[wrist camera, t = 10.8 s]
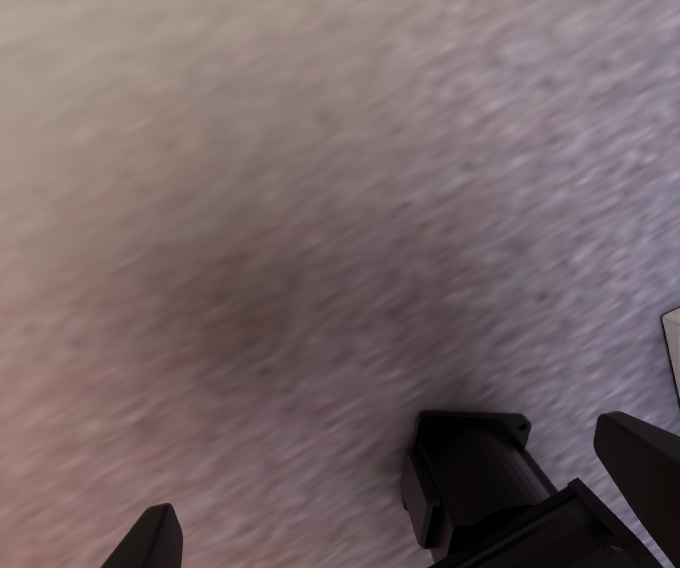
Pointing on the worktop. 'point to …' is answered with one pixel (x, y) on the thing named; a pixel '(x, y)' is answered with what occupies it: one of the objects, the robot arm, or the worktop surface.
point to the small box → (673, 341)
